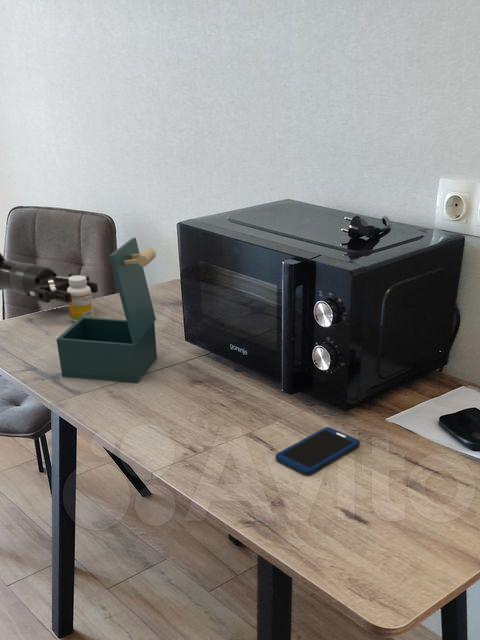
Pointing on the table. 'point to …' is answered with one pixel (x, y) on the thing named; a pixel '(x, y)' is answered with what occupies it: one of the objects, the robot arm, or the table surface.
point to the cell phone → (317, 450)
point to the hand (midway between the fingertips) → (83, 293)
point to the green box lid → (134, 286)
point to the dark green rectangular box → (105, 350)
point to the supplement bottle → (80, 298)
